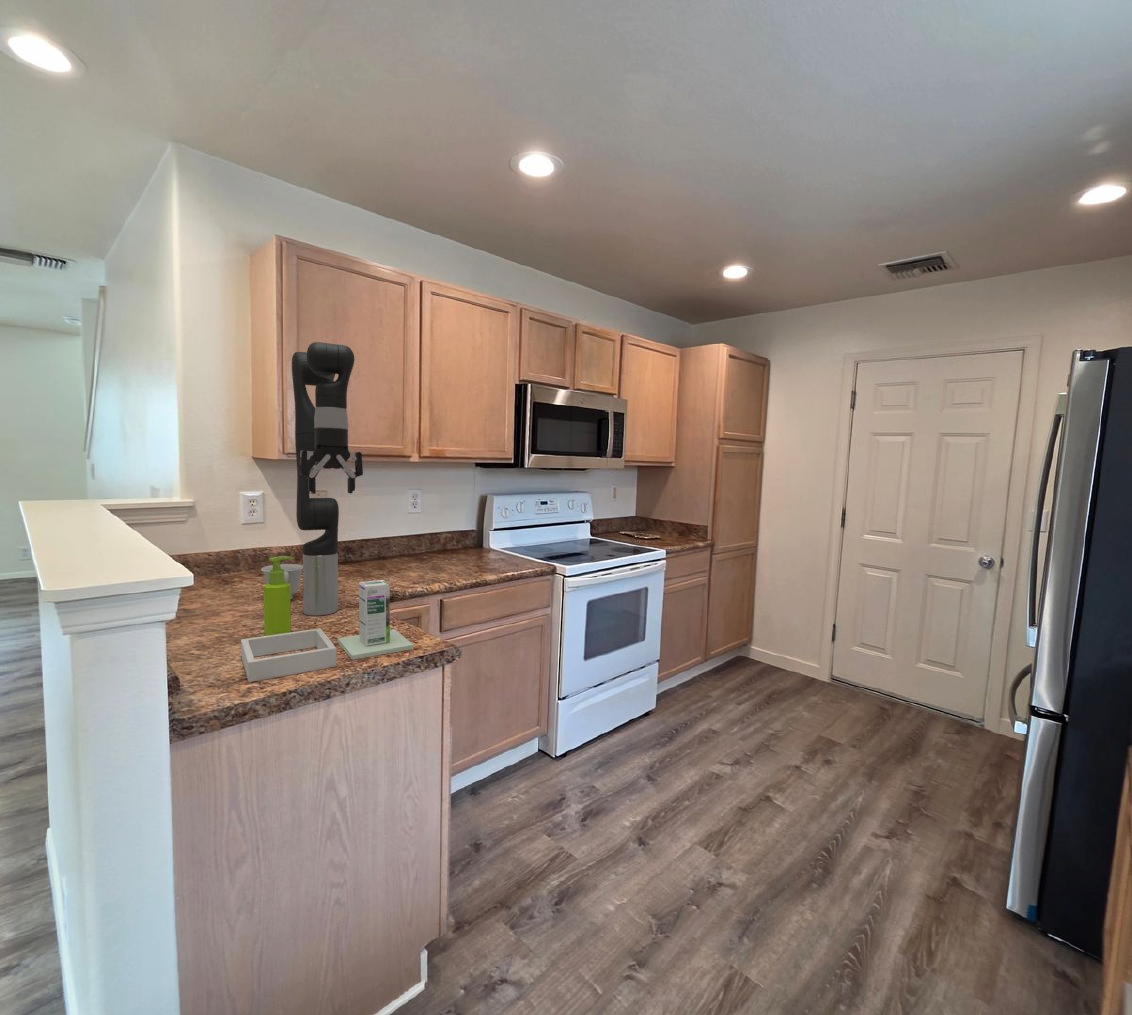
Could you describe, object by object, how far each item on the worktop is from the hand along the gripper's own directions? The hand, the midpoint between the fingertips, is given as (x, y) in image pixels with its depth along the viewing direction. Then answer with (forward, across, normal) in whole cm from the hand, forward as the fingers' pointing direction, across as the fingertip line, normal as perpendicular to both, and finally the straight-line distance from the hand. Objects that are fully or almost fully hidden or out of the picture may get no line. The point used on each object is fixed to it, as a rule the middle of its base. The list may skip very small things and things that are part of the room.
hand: (331, 493), depth 133 cm
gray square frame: (+36, +12, +13) cm, 40 cm away
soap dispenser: (+36, +11, -7) cm, 39 cm away
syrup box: (+35, -7, +12) cm, 38 cm away
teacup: (+36, +5, -45) cm, 58 cm away
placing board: (+36, -7, +12) cm, 39 cm away
